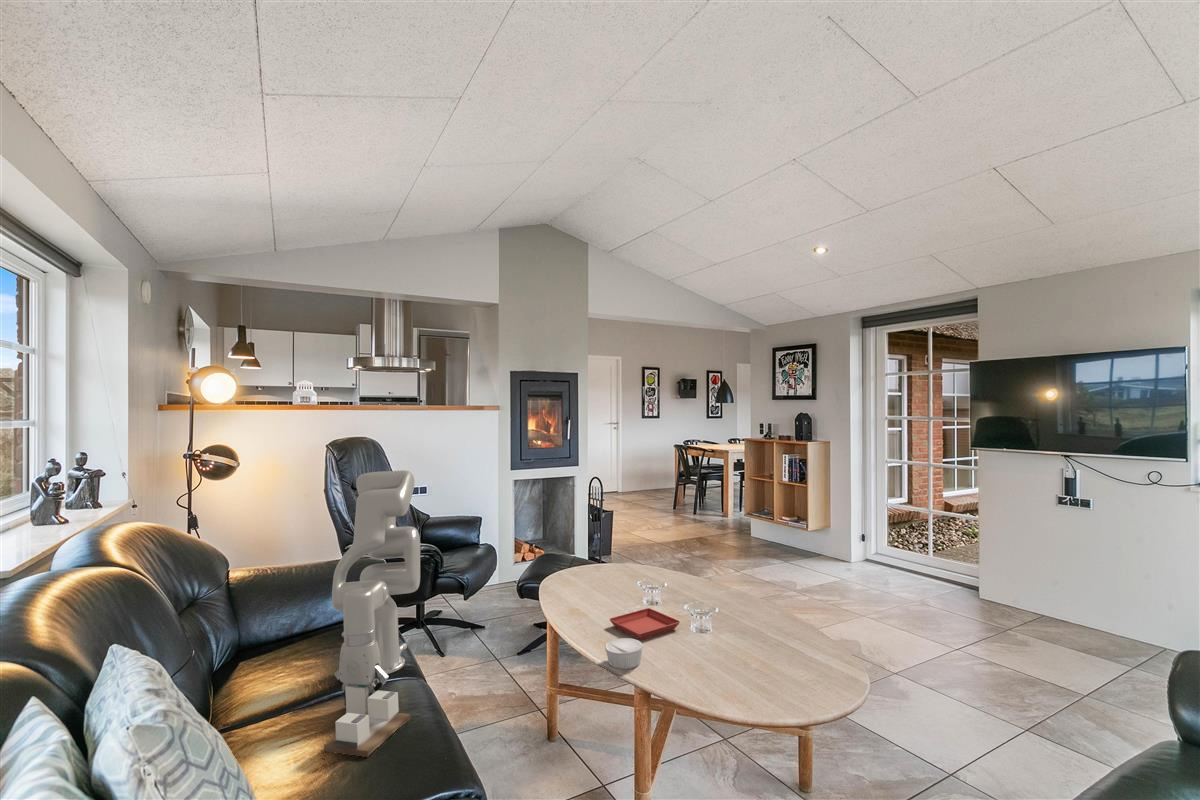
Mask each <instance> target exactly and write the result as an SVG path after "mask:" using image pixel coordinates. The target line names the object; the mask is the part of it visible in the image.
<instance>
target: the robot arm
mask: <svg viewBox="0 0 1200 800" xmlns="http://www.w3.org/2000/svg"><path fill="white" fill-rule="evenodd" d="M355 485H356V486H355V487H356V491H357V494H358V496H357V498H356V504H355V518H354V527H353V529H354V530H353V541H352V544H351V546H350V547H349V548H348V550H347V551H346V552H344V554H343V555H342V556H341V558H340V560H339V561H338V563H337V564H336V567H335V569H334V572H333V577H332V588H331V589H332V590H331V603H332V606H333V609H335V610H336V611H339V612H343V614H342V615H343V632H342V633H341V637H342V638H343V640H344V641H343V643H341V648H340V653H339V661H338V664H339V666H338V668H337V670H336V671H334V677H335V678H336V680H337V682H338V683H339V685H340V686H341V690H342V691H343V693H344V694H343V695H344V696H343V698H344V706H345V707H346V692H345V687H346V686H347V685H349V684H356V685H368V686H369V689H370V691H371V693H370V694H369V696H371V695H372V694H373V693H375V692H376V691H378V690H380V691H381V689H382V688H383V686H384V685H385V684H386V683H387V681H388V679H389V678H390V677H389V674H393V673H395V672H397V671H399V670H400V669H402V668H403V667H404V665H405V663H406V659H405V657H403V656H402V652H403V651H404V650H405V651H406V649H407V648H408V644H407V643H405V642H403V643H402V644H400V643H399V617H398V616H399V615H398V607H397V604H396V602H395V601H394V599H393V598H392V597H391V596H394V595H395V596H396V595H402V594H403V595H404V594H411V593H414V592H416V591H417V590H418V589H419V587H420V583H421V539H420V533H419V531H418V529H417V528H416V527H414V526H408V525H407V526H397V525H396V524H397V523H396V522H397V521H396V520H397V519H396V518H397V517H403V516H405V515H406V514H407V512H408V510H409V508H410V504H411V501H412V497H413V494H414V493H413V492H414V490H415V478H414V475H413V473H412V472H411V471H409V470H387V471H384V470H383V471H371V472H366V473H362V474H359V476H358V477H357V478H356V482H355ZM366 555H368V557H369V558H370V559H373V560H382V559H383V560H386V559H396V558H397V559H398V558H402V559H404V561H400V562H399V561H397V562H396V561H395V562H384V563H376V564H375V563H374V564H370V565H367V566H366V567H365V568H363V570H362V571H361V573H360V576H359V581H350V582H346V581H347V576H348V572H349V570H350V568H351V567H352V566H353V565H354V564H355V563H356V562H357V561H358V560H359V559H361V558H363V557H365V556H366ZM373 682H374V683H375V687H374V685H373Z"/></svg>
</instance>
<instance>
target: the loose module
mask: <svg viewBox="0 0 1200 800" xmlns="http://www.w3.org/2000/svg"><path fill="white" fill-rule="evenodd" d="M373 685H374V687H375V683H374V682H373ZM345 692H346V706H345V710H346V711H345V714H346V713H355V714H365V713H366V712H367V711H368V702H367V698H368V697H369V694H370V693H371V691H370V689H369V686H368V685H356V684H349V685H347V686H346V687H345Z"/></svg>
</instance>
